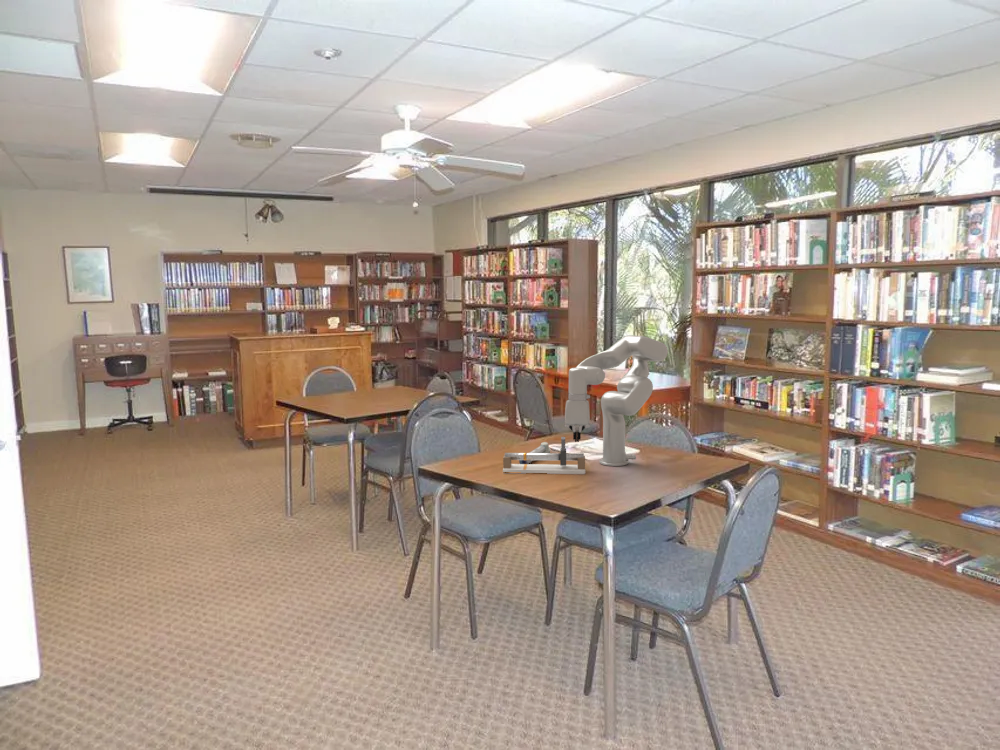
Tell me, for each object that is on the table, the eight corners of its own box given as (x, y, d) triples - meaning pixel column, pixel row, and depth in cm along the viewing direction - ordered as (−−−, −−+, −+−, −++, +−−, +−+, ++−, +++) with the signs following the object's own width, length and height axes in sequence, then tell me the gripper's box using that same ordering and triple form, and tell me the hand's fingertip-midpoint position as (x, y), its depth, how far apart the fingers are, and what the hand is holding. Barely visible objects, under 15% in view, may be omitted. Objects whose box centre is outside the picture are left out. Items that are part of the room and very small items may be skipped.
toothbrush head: (517, 456, 305) (541, 438, 326) (518, 471, 306) (542, 452, 327) (528, 458, 302) (552, 439, 323) (529, 472, 304) (553, 453, 325)
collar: (566, 462, 297) (566, 436, 295) (566, 465, 291) (566, 439, 289) (560, 462, 297) (560, 436, 296) (560, 465, 291) (560, 439, 290)
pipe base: (584, 468, 298) (584, 454, 298) (585, 474, 288) (585, 459, 288) (504, 467, 301) (504, 453, 301) (502, 473, 291) (502, 459, 291)
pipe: (583, 459, 294) (583, 452, 294) (583, 461, 291) (583, 454, 291) (505, 459, 297) (505, 451, 297) (504, 460, 294) (504, 453, 294)
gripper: (595, 396, 293) (594, 440, 295) (559, 396, 294) (558, 439, 296) (596, 399, 286) (595, 443, 287) (559, 398, 287) (558, 442, 289)
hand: (576, 441), depth 292 cm, fingers closed
